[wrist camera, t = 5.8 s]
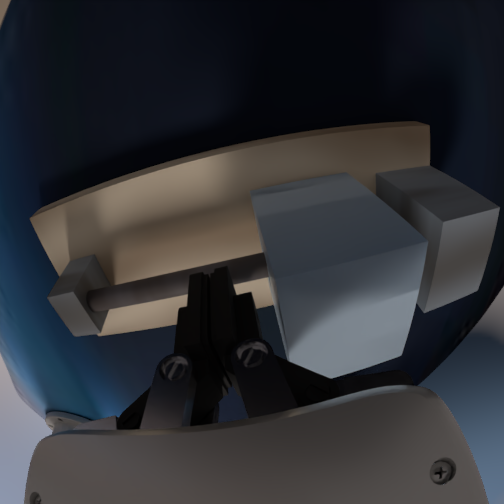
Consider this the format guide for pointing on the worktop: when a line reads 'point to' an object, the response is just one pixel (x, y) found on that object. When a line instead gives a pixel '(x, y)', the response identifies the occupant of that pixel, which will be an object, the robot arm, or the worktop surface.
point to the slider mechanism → (246, 223)
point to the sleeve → (338, 272)
